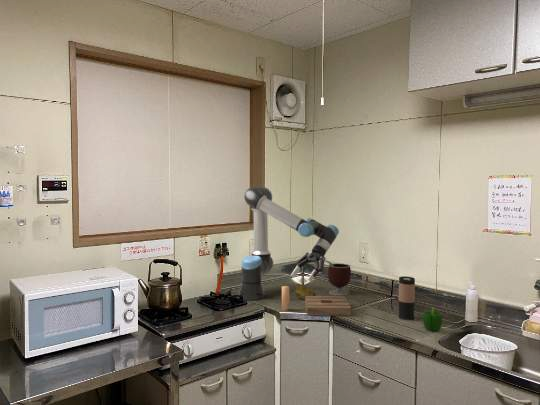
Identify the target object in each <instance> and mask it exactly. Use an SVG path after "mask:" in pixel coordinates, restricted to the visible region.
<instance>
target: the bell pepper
mask: <svg viewBox="0 0 540 405" xmlns="http://www.w3.org/2000/svg"><path fill="white" fill-rule="evenodd" d="M435 309H436V308H435V307H434V306H433V307H432V308H431V310H427V311H423V312H422V321H423V323H422V324H423V326H424V329H425V330H426V331H429V332H430V331H431V332H439V331H440V329H441V328H442V324H443V315H442V313H439V312H438V311H435Z"/></svg>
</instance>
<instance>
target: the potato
mask: <svg viewBox="0 0 540 405" xmlns="http://www.w3.org/2000/svg"><path fill="white" fill-rule="evenodd" d="M293 292H294V294H295V295H296V296H297V297H299V298H300V299H301V300H304V301H305V296H317V294H316V292H315V291H313V290H312V289H310V288H309V287H307V286H306V285H305V284H300V283H299V284H296V285H295V286H294V288H293Z"/></svg>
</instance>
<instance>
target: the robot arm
mask: <svg viewBox="0 0 540 405" xmlns="http://www.w3.org/2000/svg"><path fill="white" fill-rule="evenodd" d="M243 198H244V201H245V203H246V204H247V205H248V206H249V207H250V210H251V211H252V212H253V251H252V252H251V255H248V256H245V257H243V258H242V260H241V285H240V288H239V291H238V296H239V295H242V296H243V299H242V300H244V301H257V300H261V299H264V298H265V291H264V286H263V285H262V276H263V275H266V274H269V272H270V271H272V270H273V267H274V259H273V258H272V256H271V255H272V254H271V251H269V235H268V234H269V232H268V231H269V229H268V228H269V227H268V224H269V222H268V220H269V219H268V216H271V217H272V218H274V219H276V220H277V221H279V222H280V223H283V224H284V225H286V226H287V227H289V228H291V229H293V230H294V231H296V232H298V233H299V235H300V236H301V237H303V238H305V237H306V238H309V237H311V236H316V237H318V238H319V239H318V240H317V241H316V243H315V245H314V246H313V248H312V249H311V253H309V252H306V253H305V254H304V255H303V256H302V257H301V258H300V259H298V260H297V261H296V262H294V264H295V267H294V268H293V271H292V272H291V274H290V276H291V277H292V278H293V279H294V278H296V276H297V275H298V273H299V272H300V271H301V268H302V267H304V266H306V265H307V264H309V263H314V267H315V268H314V269H313V270H312V272H311V273H310V275H309V276H308V278H307V280H308V281H309V283H312V282H313V280H314V279H315V277H317V276H318V274H319V273H322V272H323V271H324V268H325V261H326V259H327V258H326V256H325V255H326V254H327V252H328V250H329V249H330V247H331V246H332V245H333V243H334V242H335V240H336V239H337V236H338V235H339V233H340V230H339V228H338V227H337V226H335V225H334V224H328V225H324V224H322V223H321V222H319V221H317V220H315V219H313V218H311V217H309V218H307V219H306V220H305V219H303V218H302V217H301V216H298V215H297V214H295V213H293V212H292V211H290V210H288V209H286V208H284V207H283V206H281V205H279V204H277V203H276V202H274V201H272V200H273V194H272V191H271V190H270V189H269V188H267V187H265V186H251V187H249V188H248V189H246V191H245V192H244V196H243Z"/></svg>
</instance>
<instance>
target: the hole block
mask: <svg viewBox="0 0 540 405" xmlns="http://www.w3.org/2000/svg"><path fill="white" fill-rule="evenodd" d="M304 304H305V309H306V315H307V316H338V315H351V316H352V307H351V305H350V303H349V302H348V299H347V298H346V295H345V296H336V295H331V296H330V295H316V296H305V300H304Z"/></svg>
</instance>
